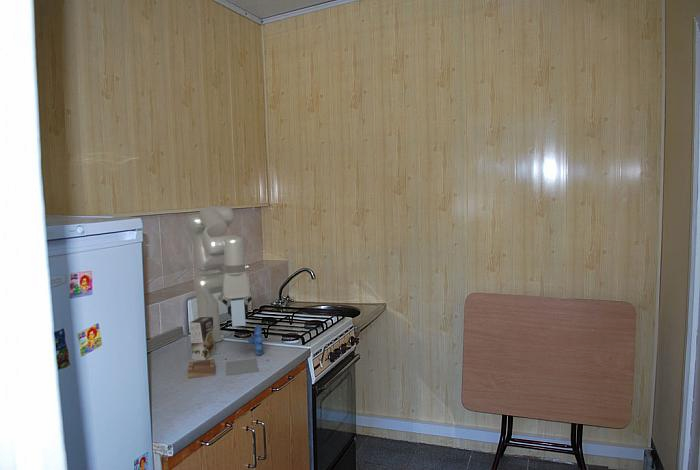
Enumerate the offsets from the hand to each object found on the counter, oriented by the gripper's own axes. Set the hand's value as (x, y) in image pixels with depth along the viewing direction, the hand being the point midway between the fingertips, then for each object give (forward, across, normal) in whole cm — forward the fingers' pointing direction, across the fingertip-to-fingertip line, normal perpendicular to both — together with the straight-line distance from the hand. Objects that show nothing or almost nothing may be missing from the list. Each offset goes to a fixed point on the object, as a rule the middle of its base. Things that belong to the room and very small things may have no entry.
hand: (238, 314), depth 187 cm
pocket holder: (+21, +15, 0) cm, 26 cm away
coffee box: (+22, +15, -19) cm, 32 cm away
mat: (+21, 0, 0) cm, 21 cm away
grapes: (+22, -7, -14) cm, 27 cm away
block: (+4, 0, 0) cm, 4 cm away
